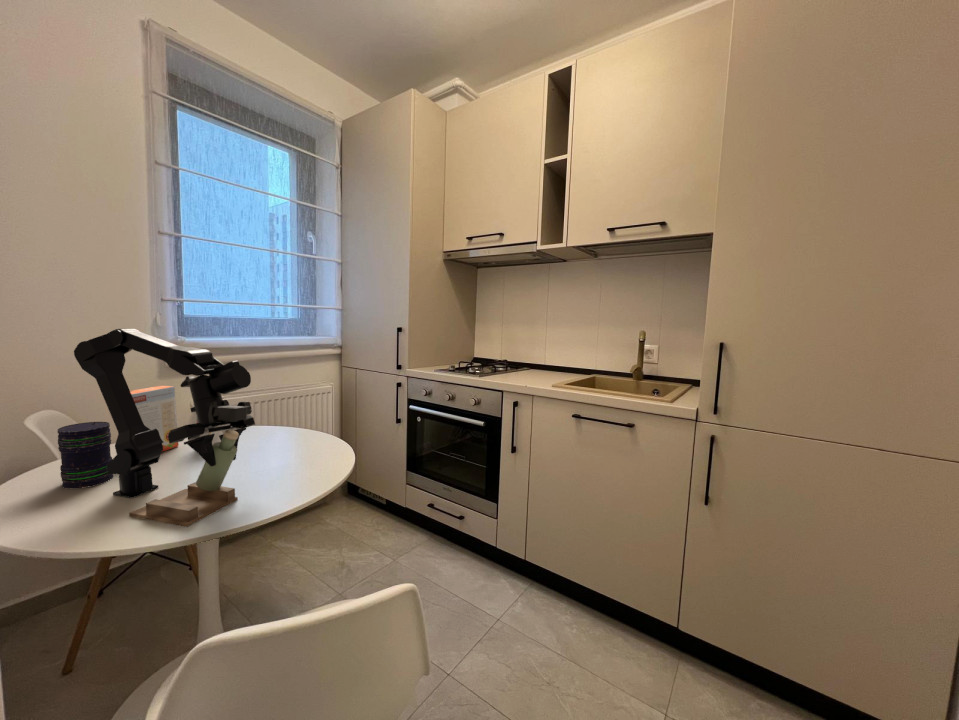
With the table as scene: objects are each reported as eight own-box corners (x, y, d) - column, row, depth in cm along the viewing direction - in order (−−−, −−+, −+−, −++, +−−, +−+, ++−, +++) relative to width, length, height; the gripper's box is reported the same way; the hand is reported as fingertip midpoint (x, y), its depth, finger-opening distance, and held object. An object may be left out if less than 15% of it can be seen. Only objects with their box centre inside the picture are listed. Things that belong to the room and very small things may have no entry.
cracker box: (164, 445, 133) (161, 384, 131) (179, 446, 132) (176, 385, 130) (119, 459, 119) (115, 392, 117) (136, 461, 118) (131, 393, 116)
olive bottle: (190, 481, 91) (214, 429, 90) (210, 475, 96) (232, 426, 95) (206, 493, 90) (231, 440, 89) (225, 486, 95) (248, 436, 94)
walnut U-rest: (129, 516, 87) (128, 502, 86) (185, 491, 99) (185, 479, 99) (186, 527, 83) (185, 512, 83) (237, 500, 96) (237, 487, 95)
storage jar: (91, 489, 99) (86, 432, 98) (49, 489, 98) (44, 431, 97) (123, 473, 109) (120, 421, 107) (86, 473, 108) (82, 421, 107)
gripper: (199, 392, 83) (216, 464, 82) (264, 388, 101) (279, 446, 100) (158, 407, 85) (175, 477, 84) (229, 400, 103) (244, 457, 102)
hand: (223, 463), depth 92 cm, fingers closed on olive bottle, 5 cm apart
